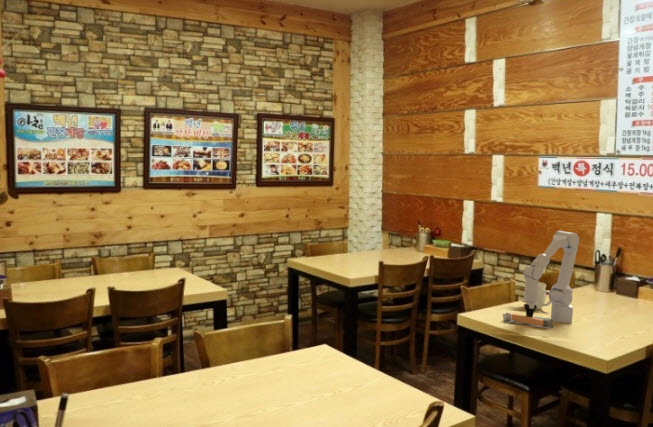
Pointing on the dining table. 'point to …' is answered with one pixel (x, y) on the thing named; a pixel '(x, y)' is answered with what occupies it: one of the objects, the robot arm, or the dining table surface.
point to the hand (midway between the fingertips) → (529, 319)
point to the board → (508, 320)
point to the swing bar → (530, 320)
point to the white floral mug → (541, 295)
